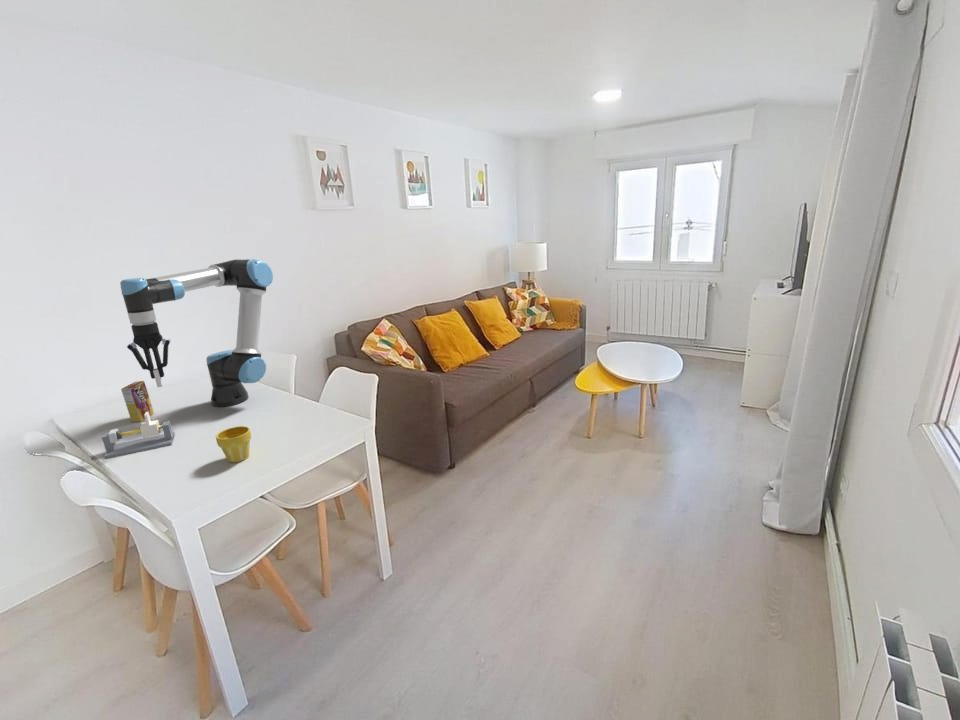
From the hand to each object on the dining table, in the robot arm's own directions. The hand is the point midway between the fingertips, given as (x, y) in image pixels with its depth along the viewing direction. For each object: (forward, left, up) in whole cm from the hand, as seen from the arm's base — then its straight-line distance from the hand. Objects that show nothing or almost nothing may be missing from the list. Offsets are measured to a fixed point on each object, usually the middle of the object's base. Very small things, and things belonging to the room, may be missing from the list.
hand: (160, 385), depth 167 cm
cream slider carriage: (+6, +2, -18) cm, 19 cm away
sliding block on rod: (+10, +3, -22) cm, 24 cm away
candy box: (+23, -27, -22) cm, 42 cm away
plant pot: (-29, +23, -22) cm, 43 cm away
